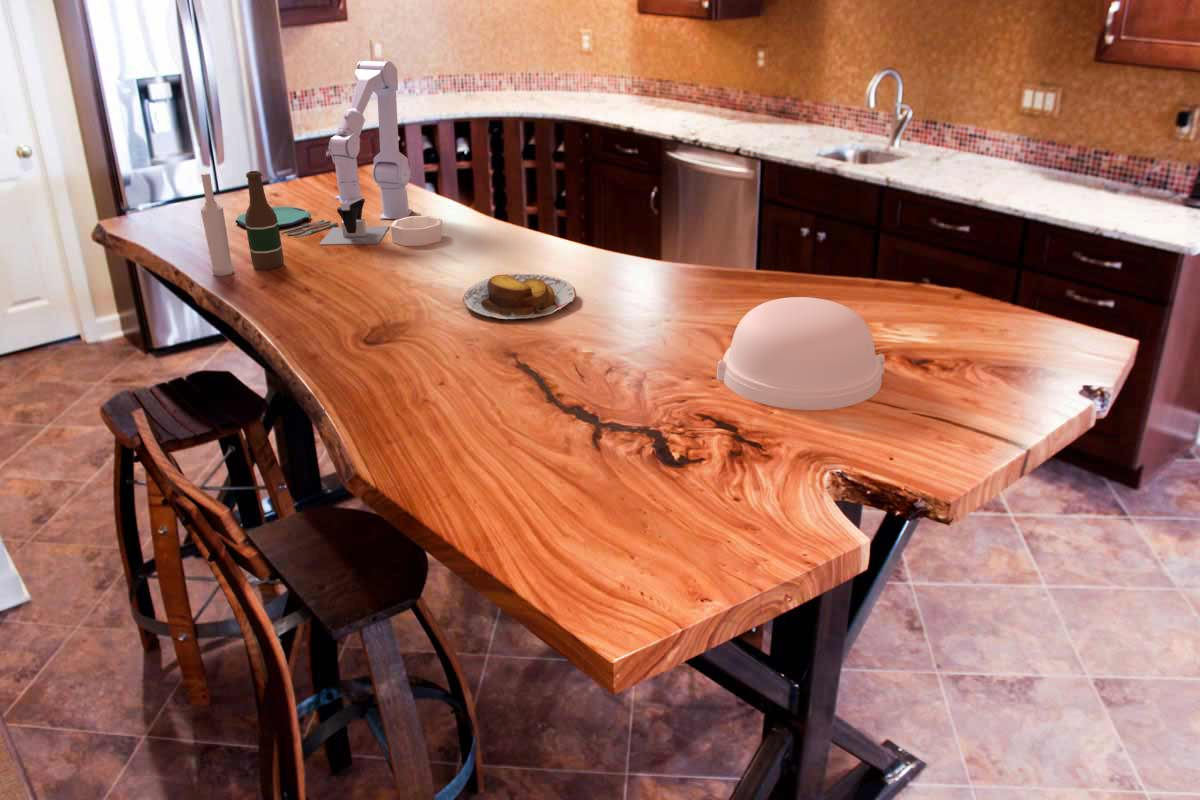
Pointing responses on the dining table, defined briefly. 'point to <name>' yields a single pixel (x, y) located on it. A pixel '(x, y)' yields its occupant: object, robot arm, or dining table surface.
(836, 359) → the dome cover
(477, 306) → the food on plate
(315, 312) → the dining table surface
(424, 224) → the bowl
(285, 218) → the cutlery set
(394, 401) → the dining table surface
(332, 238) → the lid
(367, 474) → the dining table surface
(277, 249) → the beer bottle
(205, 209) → the bottle
